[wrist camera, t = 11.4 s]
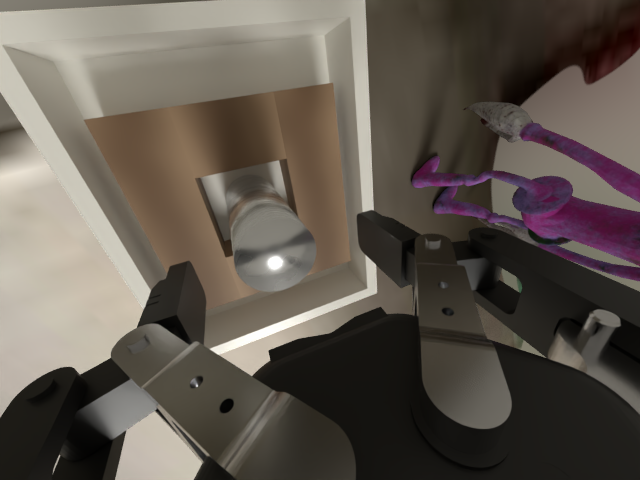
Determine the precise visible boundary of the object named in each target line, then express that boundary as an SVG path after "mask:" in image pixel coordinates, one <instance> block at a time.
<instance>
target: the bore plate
mask: <svg viewBox="0 0 640 480" xmlns="http://www.w3.org/2000/svg"><path fill="white" fill-rule="evenodd" d="M84 122H85V123H86V125H87V127H88V129H89V131H90V133H91V134H92V136H93V138H94V140H95V142H96V144H97V146H98V147H99V149H100V151H101V153H102V155H103V157H104V158H105V160H106V162H107V164H108V166H109V168H110V170H111V171H112V173H113V175H114V177H115V179H116V181H117V182H118V184H119V186H120V188H121V190H122V192H123V193H124V195H125V197H126V199H127V201H128V203H129V205H130V206H131V208H132V210H133V212H134V214H135V216H136V217H137V219H138V221H139V223H140V225H141V227H142V229H143V230H144V232H145V234H146V236H147V238H148V240H149V241H150V243H151V245H152V247H153V249H154V251H155V252H156V254H157V256H158V258H159V260H160V262H161V264H162V265H163V267H164V269H165V271H166V273H168V270H169V267H170V266H172V265H175V264H179V263H182V262H186V261H190V262H191V263H192V265H193V267H194V269H195V272H196V274H197V276H198V278H199V280H200V283H201V285H202V287H203V289H204V292H205V296H206V310H209V309H212V308H215V307H218V306H221V305H224V304H226V303H229V302H232V301H235V300H238V299H241V298H244V297H247V296H250V295H253V294H256V293H258V292H261V291H260V290H256V289H254V288H252V287H250V286H248V285H247V284H246V283H244V282H243V281H242V280H241V278H240V277H239V275H238V274H237V272H236V269H235V265H234V257H233V250H232V243H231V239H230V240H226V241H224V239H223V236H222V234H221V231H220V228H219V226H218V223H217V220H216V218H215V215H214V212H213V210H212V207H211V204H210V202H209V199H208V196H207V194H206V191H205V188H204V186H203V183H202V180H201V178H200V177H204V176H209V175H214V174H218V173H223V172H227V171H232V170H236V169H241V168H246V167H250V166H255V165H259V164H264V163H268V162H273V161H278V160H279V163H280V167H281V172H282V177H283V181H284V186H285V191H286V195H287V200H288V204H289V207H290V208H291V209H292V211H293V212H294V213H295V214H296V215H297V217H298V218H299V219H300V220H301V222H302V223H303V224H304V225H305V226H306V228H307V229H308V230H309V231H310V233H311V234H312V236H313V238H314V240H315V244H316V258H315V261H314V264H313V266H312V268H311V270H310V271H309V273H308V274H307V275H306V276H308V275H311V274H314V273H317V272H319V271H322V270H325V269H328V268H331V267H334V266H337V265H340V264H343V263H346V262H349V261H351V258H350V248H349V238H348V228H347V217H346V207H345V197H344V187H343V177H342V167H341V157H340V147H339V136H338V126H337V116H336V106H335V96H334V86H333V83H327V84H321V85H314V86H307V87H301V88H294V89H287V90H280V91H274V92H267V93H260V94H253V95H247V96H240V97H233V98H226V99H220V100H213V101H206V102H200V103H193V104H186V105H179V106H173V107H166V108H159V109H152V110H146V111H139V112H132V113H126V114H119V115H112V116H105V117H99V118H92V119H85V120H84Z"/></svg>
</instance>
